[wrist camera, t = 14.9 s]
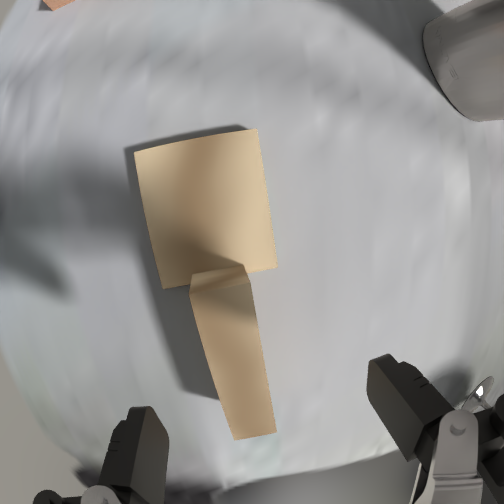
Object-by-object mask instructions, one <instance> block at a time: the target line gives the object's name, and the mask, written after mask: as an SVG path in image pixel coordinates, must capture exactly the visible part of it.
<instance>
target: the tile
mask: <svg viewBox="0 0 504 504" xmlns="http://www.w3.org/2000/svg"><path fill="white" fill-rule="evenodd" d="M43 1H44V2H45V3H46V4H47V5H48V6H49V7H50V8H51V9H52V10H53V11H54V10H56V9H58V8H60V7H62V6H64V5H66V4H68V3H71V2H73V1H75V0H43Z"/></svg>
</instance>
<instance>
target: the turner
mask: <svg viewBox="0 0 504 504" xmlns="http://www.w3.org/2000/svg"><path fill="white" fill-rule="evenodd" d="M134 156H135V163H136V169H137V175H138V181H139V187H140V192H141V198H142V203H143V208H144V213H145V218H146V223H147V227H148V232H149V236H150V241H151V245H152V249H153V253H154V257H155V262H156V265H157V269H158V273H159V277H160V281H161V284H162V288H163V289H167V288H172V287H178V286H183V285H189V284H190V289H189V298H190V302H191V305H192V309H193V313H194V317H195V320H196V324H197V327H198V331H199V335H200V338H201V341H202V345H203V348H204V352H205V355H206V358H207V362H208V365H209V368H210V371H211V374H212V378H213V381H214V384H215V387H216V390H217V393H218V396H219V399H220V402H221V405H222V408H223V410H224V413H225V416H226V419H227V422H228V424H229V427H230V430H231V433H232V435H233V438H234V440H240V439H246V438H251V437H257V436H262V435H267V434H271V433H276V432H277V430H276V424H275V419H274V413H273V408H272V402H271V397H270V391H269V386H268V380H267V375H266V369H265V363H264V358H263V352H262V346H261V341H260V335H259V329H258V324H257V318H256V312H255V307H254V301H253V295H252V289H251V283H250V280H249V278H248V275H247V273H252V272H257V271H262V270H267V269H273V268H278V264H277V257H276V250H275V243H274V236H273V229H272V222H271V215H270V209H269V202H268V195H267V189H266V182H265V176H264V170H263V163H262V157H261V151H260V145H259V139H258V133H257V129H250V130H243V131H235V132H229V133H222V134H216V135H210V136H205V137H199V138H194V139H189V140H184V141H179V142H174V143H170V144H165V145H161V146H157V147H152V148H148V149H144V150H140V151H137V152H134Z"/></svg>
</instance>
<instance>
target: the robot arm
mask: <svg viewBox="0 0 504 504" xmlns="http://www.w3.org/2000/svg"><path fill="white" fill-rule="evenodd" d="M423 43H424V49H425V53H426V57H427V59H428V62H429V65H430V67H431V70H432V72H433V74H434V76H435V78H436V80H437V82H438V83H439V85H440V87H441V88H442V90H443V92H444V93H445V95H446V96H447V97H448V99H449V100H450V102H451V103H452V104H453V105H454V106H455V107H456V108H457V110H458V111H459V112H461V113H462V114H463V115H464V116H466V117H467V118H469V119H471V120H473V121H478V122H480V121H491V120H504V0H472V1H470V2H468V3H466V4H464V5H462V6H459V7H457V8H455V9H453V10H451V11H449V12H447V13H445V14H443V15H441V16H439V17H438V18H436V19H434V20H432V21H430V22H429V23H428V24H426V26H425V28H424V33H423ZM367 396H368V399H369V401H370V403H371V405H372V406H373V408H374V409H375V411H376V413H377V414H378V416H379V417H380V419H381V420H382V422H383V424H384V425H385V427H386V428H387V430H388V432H389V433H390V435H391V436H392V438H393V439H394V441H395V443H396V444H397V446H398V447H399V449H400V451H401V452H402V454H403V455H404V457H405V459H406V460H407V462H409V461H411V460H413V459H415V458H418V459H419V461H420V465H419V468H418V473H417V477H416V481H415V485H414V489H413V493H412V496H411V500H410V503H409V504H480V502H481V495H482V487H483V481H482V478H483V480H484V481H485V483H486V484H487V486H488V488H489V489H490V491H491V493H492V494H493V496H494V498H495V499H496V501H497V503H498V504H504V394H503V395H501V396H500V397H499V398H498V399H497V401H496V403H495V405H494V407H491V408H488V409H486V410H483V411H480V412H477V413H473V414H472V413H471V412H469V411H467V410H462V409H458V410H455V409H454V408H453V407H452V406H451V405H450V404H449V403H448V402H447V401H446V400H445V398H444V397H443V396H442V395H441V394H440V393H439V392H438V391H437V390H436V389H435V387H434V386H433V385H432V384H430V383H429V381H428V380H427V379H426V378H425V377H423V375H422V373H421V372H420V371H419V370H418V369H417V368H416V367H415V366H413V365H411V364H408V363H406V362H404V361H403V362H401V363H398V362H397V361H396V360H395V359H394V358H393V356H392V355H390V354H386V355H383V356H380V357H378V358H375V359H372V360H370V361H369V365H368V378H367ZM110 442H111V443H109V446H108V452H107V453H106V456H105V460H104V463H103V467H102V471H101V474H100V478H99V482H98V484H97V486H93V487H90V488H89V489H87V490H86V491H85V492H84V494H83V495H82V496H79V497H67V498H62V497H61V496H59V495H58V494H57V493H56V492H54V491H52V490H44V491H41V492H40V493H38V494H37V495H36V497H35V498H34V501H33V504H164V494H165V482H166V471H167V462H168V452H169V437H168V433H167V431H166V429H165V428H164V426H163V424H162V423H161V421H160V420H159V418H158V416H157V415H156V413H155V411H154V409H153V408H152V407H151V406H144V407H131V408H130V409H129V412H128V416H127V419H126V420H121V421H120V423H119V424H118V425H117V426H116V428H115V429H114V430H113V433H112V436H111V440H110ZM476 470H478V472H479V473H480V475H481V476H482V478H481V477H478V476H477V473H476Z"/></svg>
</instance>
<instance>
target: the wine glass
mask: <svg viewBox="0 0 504 504" xmlns="http://www.w3.org/2000/svg"><path fill="white" fill-rule="evenodd" d="M493 382H494V378H493V377H492V376H491V377H488V378H487V379H485V380H484V381H483V382H482V383H481V384H480V385H479V386H478V387H477V388H476V389H475V390H474V391H473V392H472V394H471V395H470V396H469V398H468V399H467V400H466V402H465V403H464V405H463V407H462V410H467V411H469V412H471V413H472V412H473V411H474V410H476V409H477V408H478V406H482V407H483V408H484V409H485V410H486V409H488V408H491V406H490V405H489V404H488V403H487V402H486V401H485V398H486V396H487V395H488V393H489V392H490V390H491V388H492V385H493Z"/></svg>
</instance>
